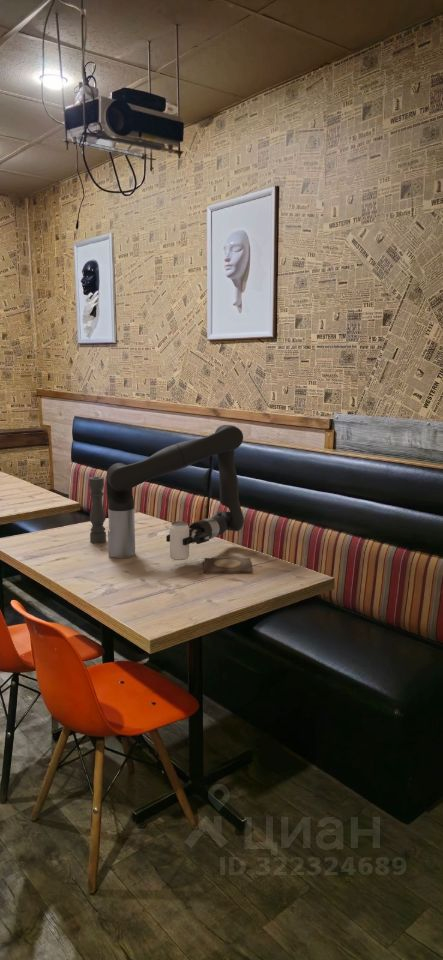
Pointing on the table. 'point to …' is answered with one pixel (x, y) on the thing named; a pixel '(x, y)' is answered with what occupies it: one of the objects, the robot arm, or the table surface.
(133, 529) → the robot arm
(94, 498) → the candle holder
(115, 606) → the table surface
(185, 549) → the can
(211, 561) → the rest board
